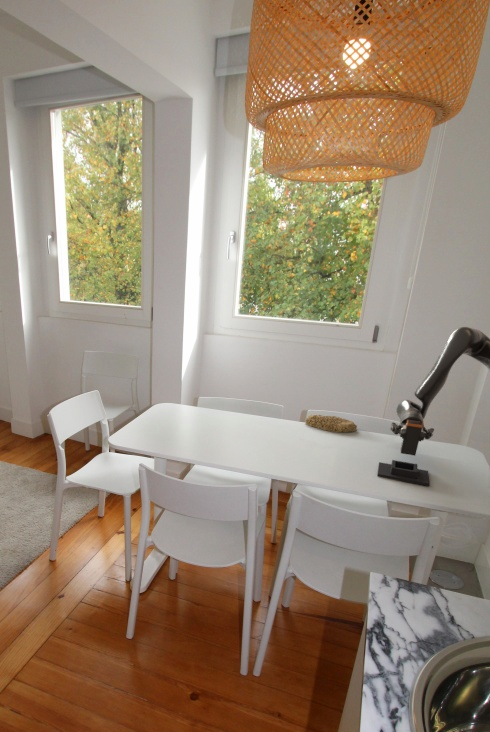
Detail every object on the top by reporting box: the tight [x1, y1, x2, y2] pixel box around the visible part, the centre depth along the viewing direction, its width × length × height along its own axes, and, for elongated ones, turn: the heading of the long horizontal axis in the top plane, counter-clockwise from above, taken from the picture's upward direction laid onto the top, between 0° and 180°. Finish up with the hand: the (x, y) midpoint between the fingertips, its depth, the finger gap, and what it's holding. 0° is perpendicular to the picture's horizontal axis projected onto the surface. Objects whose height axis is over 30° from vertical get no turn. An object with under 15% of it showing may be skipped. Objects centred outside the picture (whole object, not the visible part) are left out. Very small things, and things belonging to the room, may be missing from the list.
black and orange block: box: [400, 420, 424, 457], centre depth 161 cm, size 5×5×11 cm
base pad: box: [377, 459, 430, 487], centre depth 166 cm, size 16×12×4 cm
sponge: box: [305, 414, 358, 433], centre depth 207 cm, size 13×8×20 cm
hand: (412, 437), depth 159 cm, fingers closed on black and orange block, 4 cm apart
